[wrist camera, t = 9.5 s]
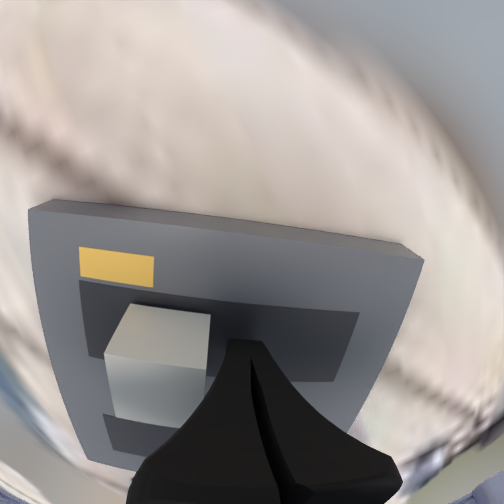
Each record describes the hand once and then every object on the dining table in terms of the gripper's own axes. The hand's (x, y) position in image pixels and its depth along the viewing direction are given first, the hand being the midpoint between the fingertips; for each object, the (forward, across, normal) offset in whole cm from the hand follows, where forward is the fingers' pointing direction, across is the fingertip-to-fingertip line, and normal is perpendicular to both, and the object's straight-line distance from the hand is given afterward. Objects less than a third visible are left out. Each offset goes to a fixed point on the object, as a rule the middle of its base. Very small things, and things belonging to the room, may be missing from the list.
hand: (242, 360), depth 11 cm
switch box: (+3, +1, +4) cm, 5 cm away
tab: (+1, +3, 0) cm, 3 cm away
